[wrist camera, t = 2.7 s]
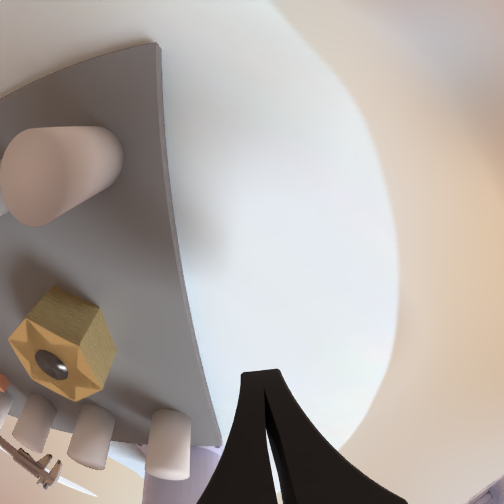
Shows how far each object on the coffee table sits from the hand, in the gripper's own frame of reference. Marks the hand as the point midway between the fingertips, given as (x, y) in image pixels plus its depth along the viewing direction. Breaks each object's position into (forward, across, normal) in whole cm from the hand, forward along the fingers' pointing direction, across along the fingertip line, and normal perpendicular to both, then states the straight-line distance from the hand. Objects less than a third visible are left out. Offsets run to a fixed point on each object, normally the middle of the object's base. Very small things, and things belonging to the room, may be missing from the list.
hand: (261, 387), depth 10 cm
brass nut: (+4, +10, 0) cm, 11 cm away
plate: (+5, +16, 0) cm, 17 cm away
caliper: (+6, +37, +22) cm, 44 cm away
